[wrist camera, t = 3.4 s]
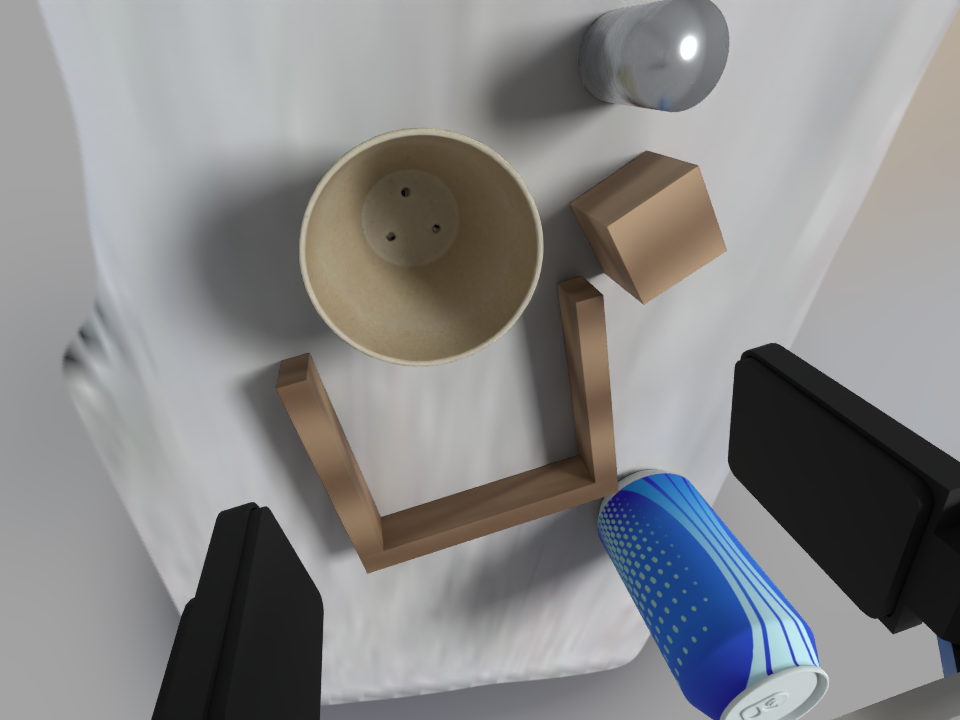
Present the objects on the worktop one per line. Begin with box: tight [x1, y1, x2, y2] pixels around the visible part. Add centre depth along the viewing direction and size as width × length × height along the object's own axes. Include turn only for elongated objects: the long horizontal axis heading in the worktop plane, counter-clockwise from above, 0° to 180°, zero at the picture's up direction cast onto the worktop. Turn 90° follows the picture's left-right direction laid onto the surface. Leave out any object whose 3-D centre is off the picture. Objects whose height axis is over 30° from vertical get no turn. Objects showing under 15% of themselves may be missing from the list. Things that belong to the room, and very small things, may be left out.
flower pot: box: [299, 128, 543, 366], centre depth 24 cm, size 10×10×7 cm
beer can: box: [597, 469, 829, 720], centre depth 36 cm, size 8×8×16 cm
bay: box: [276, 276, 618, 573], centre depth 33 cm, size 16×18×3 cm
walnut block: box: [569, 151, 727, 305], centre depth 28 cm, size 5×5×5 cm
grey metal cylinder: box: [579, 0, 729, 112], centre depth 23 cm, size 4×4×6 cm
